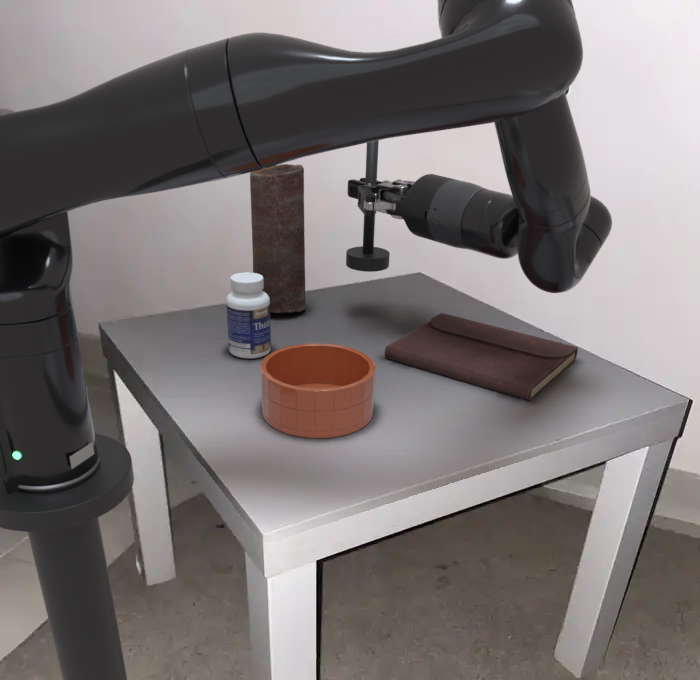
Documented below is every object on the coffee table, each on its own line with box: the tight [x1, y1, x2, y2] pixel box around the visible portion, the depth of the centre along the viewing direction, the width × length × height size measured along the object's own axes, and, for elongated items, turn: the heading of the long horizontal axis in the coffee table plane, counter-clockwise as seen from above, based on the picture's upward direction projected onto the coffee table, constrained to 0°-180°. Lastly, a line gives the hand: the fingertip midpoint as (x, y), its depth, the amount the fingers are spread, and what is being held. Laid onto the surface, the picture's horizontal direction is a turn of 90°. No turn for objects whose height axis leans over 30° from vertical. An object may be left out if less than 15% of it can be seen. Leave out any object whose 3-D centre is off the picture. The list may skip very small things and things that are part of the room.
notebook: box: [384, 312, 579, 402], centre depth 98 cm, size 15×20×2 cm
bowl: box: [259, 342, 377, 439], centre depth 84 cm, size 12×12×6 cm
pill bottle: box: [225, 271, 272, 360], centre depth 96 cm, size 5×5×10 cm
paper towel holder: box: [345, 140, 391, 273], centre depth 103 cm, size 6×6×18 cm
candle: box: [249, 163, 306, 314], centre depth 106 cm, size 8×7×20 cm
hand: (355, 186), depth 104 cm, fingers closed on paper towel holder, 1 cm apart
